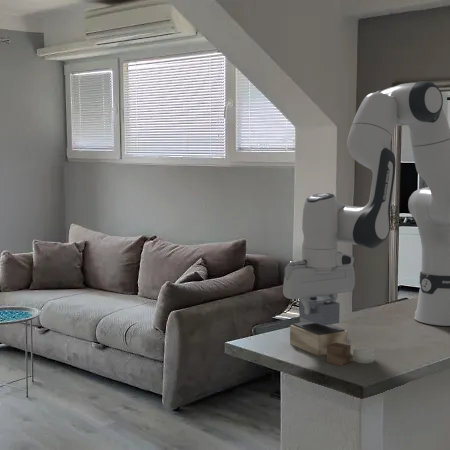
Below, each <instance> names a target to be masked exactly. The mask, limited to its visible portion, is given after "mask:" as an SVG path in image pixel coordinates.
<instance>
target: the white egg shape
mask: <svg viewBox="0 0 450 450" xmlns="http://www.w3.org/2000/svg"><path fill="white" fill-rule="evenodd" d="M352 351H353V354H352V360H353V362H356V363H357V364H364V365H365V364H373V363H374V362H375V352H376V351H375V350H374V349H372V348H370V347H356V348H353V349H352Z"/></svg>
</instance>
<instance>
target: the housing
mask: <svg viewBox="0 0 450 450" xmlns="http://www.w3.org/2000/svg"><path fill="white" fill-rule="evenodd" d="M308 303H309V305H310V307H313V314H309V315H307V314H305V313H304V306H303V304H302V302H301V301H300V300H299V318H300V317H301V318H304V319H307V320H309V321H312V322H315V323H318V324H320V325H329V324H331V325H335V324H340V302H337V301H336V302H334V301H331V300H330V299H324V298H321V297H318V296H315V297H310V301H308Z"/></svg>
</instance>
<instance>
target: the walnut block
mask: <svg viewBox="0 0 450 450" xmlns="http://www.w3.org/2000/svg"><path fill="white" fill-rule="evenodd" d="M326 362H327V363H328V364H334V365H338V366H343V365H346V364H348V363H351V345H350V344H347V345H346V344H341V343H333V344H331V345H328V346H327V355H326Z"/></svg>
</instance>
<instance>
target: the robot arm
mask: <svg viewBox="0 0 450 450" xmlns="http://www.w3.org/2000/svg"><path fill="white" fill-rule="evenodd" d="M443 105H444V99H443V93H442V92H441V89H440V88H439V87H438V85H436V84H435V83H434V82H432V81H427V80H426V81H422V80H420V81H417V82H407V83H406V82H405V83H401V84H398V85H395V86H391V87H387V88H382V89H380V90H378V91H376V92H371V93H369V94H367V95H366V96H365V97H364V98H363V100H362V101H361V103H360V105H359V107H358V109H357V111H356V114H355V115H354V118H353V121H352V123H351V126H350V130H349V133H348V135H347V139H346V148H347V151H348V153H349V155H350V156H351V158H352V159H353V160H355V161H356V162H357V163H358V164H360V165H362V167H365V168H367V169H369V170H371V174H372V179H371V185H370V186H371V187H370V193H369V200H368V202H367V204H365V205H364V206H354V205H353V206H352V205H347V204H345V203H342V202H340V201H339V200H338V199H337V197H336V194H333V193H329V192H322V193H315V194H314V193H313V194H312V195H309V196H307V198H305V201H304V204H303V209H302V217H301V218H302V220H301V221H302V223H301V225H302V226H301V229H302V230H301V231H302V234H303V241H302V244H301V260H297V261H295V260H292V261H290V262H289V263H287V265H286V266H285V267H284V277H283V285H282V294H283V296H284V297H285V298H287V299H289V300H299V302H300V301H301V302H302V304H303V306H304V313H305V314H307V315H309V314H313V307H310V305H309V303H308V301H310V297H315V296H322V295H328V297H330V298H329V299H330V300H331V301H334V302H337V299H338V298H339V297H338V295H339V294H343V293H344V294H345V293H351V292H353V290H354V288H355V285H356V276H355V273H356V272H355V268H354V266H353V265H354V261H355V257H354V256H352V255H350V254H346V253H343V252H341V251H338V243H343V244H347V245H349V244H350V245H358V246H360V247H365V248H368V249H376V248H378V247H380V246H381V244H383V242H384V241H386V240H387V238H388V237H389V234H390V231H391V217H390V216H391V215H390V214H391V204H392V198H393V191H394V183H395V176H396V168H397V167H396V165H397V164H396V156H395V153H394V152H393V151H392V150H391V142H392V139H393V136H394V135H393V134H394V131H395V127H399V126H408V128H409V138H410V143H411V149H412V154H413V159H414V165H415V169H416V172H417V174H418V175H419V176H420V177H421V178H422V179H423V181H424V182H425V184H426V185H427V187H426V186H425V187H422V188H419V189H416V190H415V191H413V192H412V193H411V195H410V196H409V198H408V204H407V206H408V212H409V213H410V215H411V216H412V217H413V219H414V222H415V223H416V226H417V229H418V233H419V238H420V244H421V271H420V272H419V285H420V288H419V291H418V296H417V302H416V303H417V305H416V310H415V311H414V317H413V318H414V320H416V321H417V322H420V323H424V324H427V325H433V326H442V327H443V326H444V327H446V326H447V327H449V326H450V126H449V125H450V124H449V122H448V119H447V116H446V113H445V111H444V108H443Z"/></svg>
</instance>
